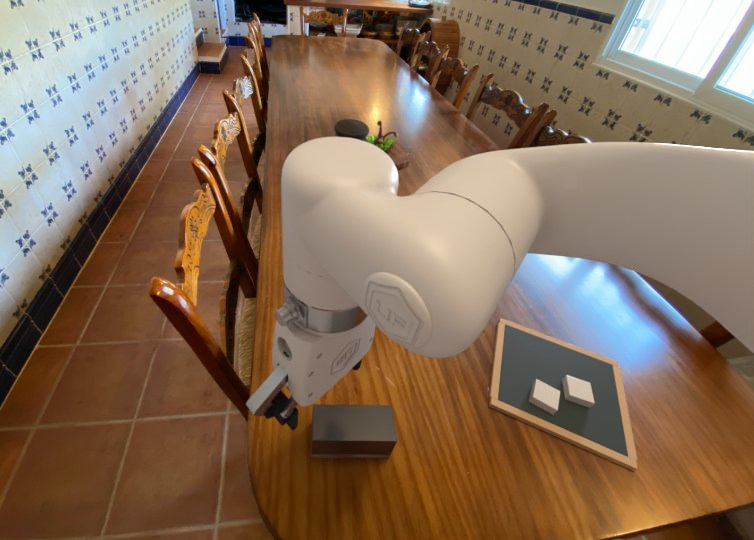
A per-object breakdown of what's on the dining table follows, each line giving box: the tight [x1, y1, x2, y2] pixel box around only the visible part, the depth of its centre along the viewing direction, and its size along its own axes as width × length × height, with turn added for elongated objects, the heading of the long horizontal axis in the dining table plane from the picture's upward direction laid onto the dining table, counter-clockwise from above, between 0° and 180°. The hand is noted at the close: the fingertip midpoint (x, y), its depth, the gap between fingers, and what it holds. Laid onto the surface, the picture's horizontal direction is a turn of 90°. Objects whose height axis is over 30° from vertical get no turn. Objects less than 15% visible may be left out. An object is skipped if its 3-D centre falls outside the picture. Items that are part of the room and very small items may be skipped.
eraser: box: [310, 403, 398, 459], centre depth 49 cm, size 11×5×6 cm, turn 91°
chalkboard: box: [487, 317, 639, 472], centre depth 60 cm, size 20×18×1 cm
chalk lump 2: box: [562, 375, 595, 408], centre depth 57 cm, size 4×4×2 cm
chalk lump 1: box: [529, 379, 560, 415], centre depth 56 cm, size 4×4×2 cm
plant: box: [365, 120, 411, 171], centre depth 115 cm, size 20×20×11 cm
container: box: [333, 118, 370, 141], centre depth 94 cm, size 9×9×20 cm
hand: (319, 387), depth 40 cm, fingers open, 9 cm apart
